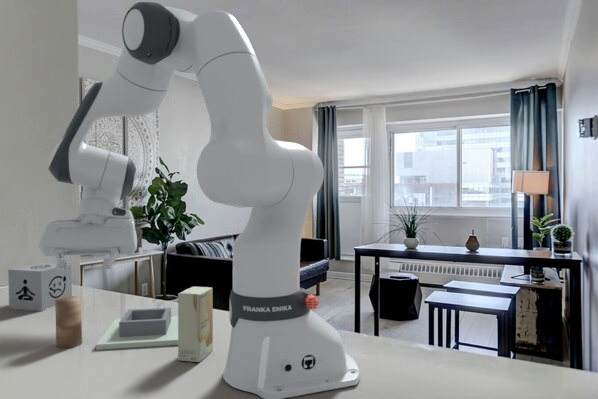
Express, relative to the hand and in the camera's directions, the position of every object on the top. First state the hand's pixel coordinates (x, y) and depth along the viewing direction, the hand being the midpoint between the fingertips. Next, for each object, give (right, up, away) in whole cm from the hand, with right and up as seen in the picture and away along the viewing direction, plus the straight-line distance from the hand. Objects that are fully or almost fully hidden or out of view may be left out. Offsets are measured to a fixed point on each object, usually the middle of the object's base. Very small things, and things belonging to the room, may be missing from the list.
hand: (83, 268), depth 96 cm
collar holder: (+15, -13, -3) cm, 20 cm away
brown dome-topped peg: (+2, -14, -9) cm, 16 cm away
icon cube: (-21, -13, +19) cm, 31 cm away
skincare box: (+28, -14, -15) cm, 35 cm away
